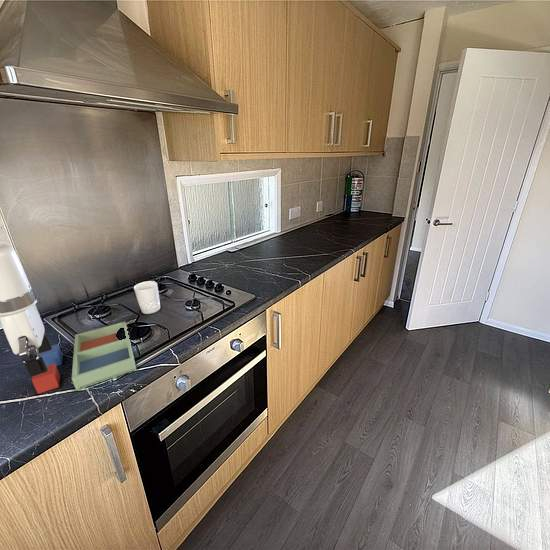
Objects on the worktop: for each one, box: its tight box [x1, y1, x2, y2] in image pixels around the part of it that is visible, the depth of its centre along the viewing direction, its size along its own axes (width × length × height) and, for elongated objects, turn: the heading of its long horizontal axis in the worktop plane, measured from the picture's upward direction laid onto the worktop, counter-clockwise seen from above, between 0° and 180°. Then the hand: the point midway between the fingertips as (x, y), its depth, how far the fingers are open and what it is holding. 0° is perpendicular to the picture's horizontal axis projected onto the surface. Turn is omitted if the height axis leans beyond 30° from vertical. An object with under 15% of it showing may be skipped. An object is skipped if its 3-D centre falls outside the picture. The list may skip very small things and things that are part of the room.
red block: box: [31, 364, 61, 395], centre depth 74 cm, size 4×4×4 cm
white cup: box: [133, 280, 161, 315], centre depth 108 cm, size 8×8×10 cm
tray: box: [71, 321, 137, 391], centre depth 84 cm, size 14×22×4 cm, turn 30°
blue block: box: [39, 343, 64, 367], centre depth 82 cm, size 4×4×4 cm
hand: (42, 361), depth 72 cm, fingers open, 9 cm apart
